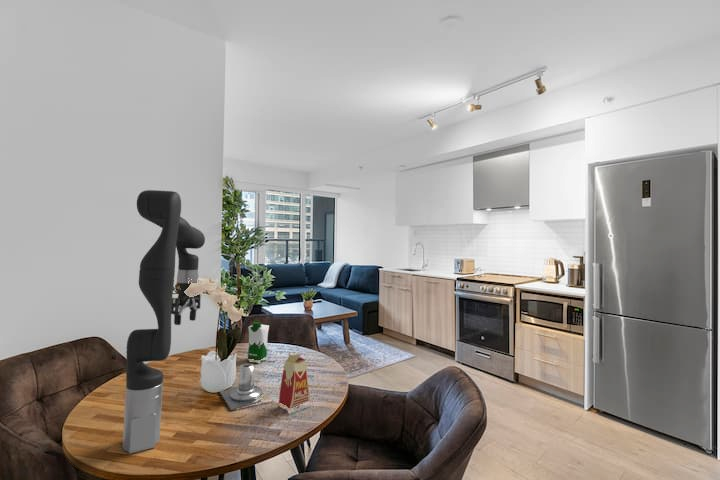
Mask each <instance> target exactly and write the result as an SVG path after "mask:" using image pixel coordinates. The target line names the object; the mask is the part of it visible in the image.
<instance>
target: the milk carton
mask: <svg viewBox="0 0 720 480" xmlns="http://www.w3.org/2000/svg"><path fill="white" fill-rule="evenodd" d="M287 355H288V357H287V359H286V360H285V362H284V365H283V370H282V377H281V382H280V388H279V396H278V404H279V403H282V404H284V405H286V406H287V407H288V408H290V409H291V408H293V407H296V406H298V405H300V404H303V403H305V402H308V401H310V402H311V398H310V397H311V396H310V389H309V388H310V387H309V378H308V368H307V359H304V358H303V357H301V355H302V354H301V353H298V354H297V353H296V354H292V353H287Z"/></svg>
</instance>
